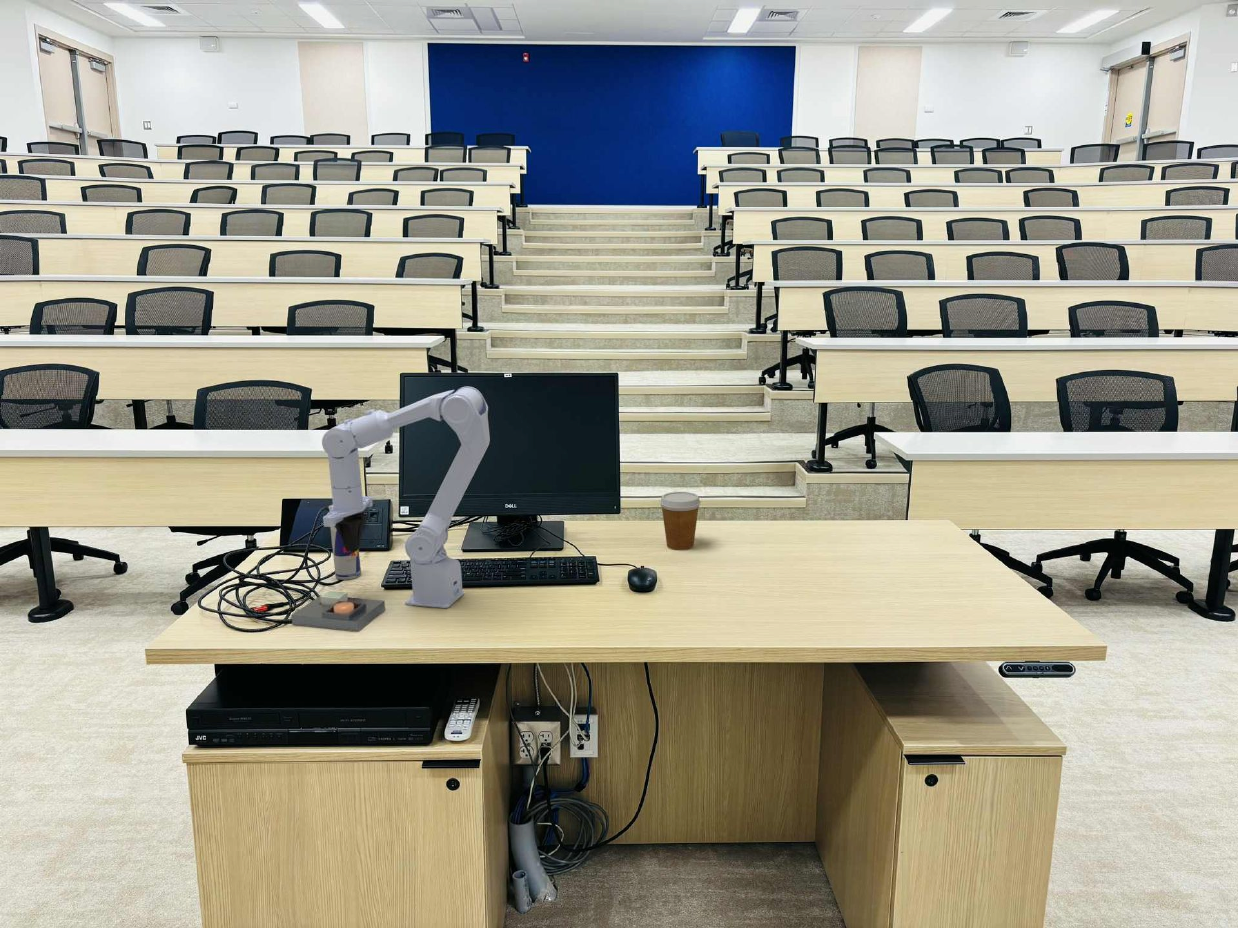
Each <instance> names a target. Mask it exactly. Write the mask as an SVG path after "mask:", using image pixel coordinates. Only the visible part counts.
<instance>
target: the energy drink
mask: <svg viewBox="0 0 1238 928" xmlns="http://www.w3.org/2000/svg"><path fill="white" fill-rule="evenodd" d="M330 536H331V546H332V554H333V555H332V556H333V564H334V574H335V575H334V576H335V578H337V580H341V581H348V580H349V581H350V580H354V579H356V578H359V577H360V576H361V574H362V569H361V568H362V567H361V559H360V558H361V557H360V549H359V550H357V551H356V552H350V551H346V548H345V546H344V543H343V541H342V538H341V536H340V534H339V532H338V531H337V529H336V528H335V527H330Z"/></svg>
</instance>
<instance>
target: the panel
mask: <svg viewBox="0 0 1238 928" xmlns="http://www.w3.org/2000/svg"><path fill="white" fill-rule="evenodd" d="M322 595H323V594H321V595H320V596H318V597H316V598H315V599H314V600H312V601H310V602H309V603H307V604H305V605H304V606H302V607H301V608H300V609H297V610H296V611H295V612H294V613H291V615H290V616H291V624H292V623H294V625H293V626H301V627H302V626H304V627H311V628H321V629H322V628H323V629H330V630H339V631H348V630H350V632H359V631H361V630H362V629H363V628H365V627H366V626H367V625H368V624H369V623H371V622H372V621H374V620H375V619H376V618H377V617H378V616H380V615H381V614H383V613H384V612H385V611H386V603H385V600H380V599H370V598H360V597H350V596H349V597H348V601H347V602H351V603H353V604H354V610H353V611H352V612H351V613H349V614H340V613H334V606H335V605H336V604H338V603H342V602H346V601H338V602H337V603H335V604H334V605H332V606H331V605H321V596H322ZM351 630H352V631H351Z"/></svg>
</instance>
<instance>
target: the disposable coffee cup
mask: <svg viewBox="0 0 1238 928" xmlns="http://www.w3.org/2000/svg"><path fill="white" fill-rule="evenodd" d="M701 503H702V502H701V500H700V497H699V495H698V494H696V493H694V492H689V491H672V492H667V493H664V494H663V495H661V499H660V501H659V505H660V507H661V513H662V519H663V527H664V534H665V541H666V546H667V548H669V549H671V550H675V551H685V550H689V549H690V550H691V549H692V548H694V544H695V538H696V529H697V521H698V514H699V507H700V506H701Z"/></svg>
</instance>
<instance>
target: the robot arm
mask: <svg viewBox="0 0 1238 928" xmlns="http://www.w3.org/2000/svg"><path fill="white" fill-rule="evenodd" d="M488 413H489V406H488V404H487V401H486V399H485V398H484V396H483V394H482V393H481V392H480V391H479V390H478V389H477V388H475V387H473V386H463V387H460V388H458V389H457V390H456V391H455V389H452V390H447V391H444V392H440V393H436V394H433V395H431V396H428V397H426V398H423V399H420V400H419V401H416V402H414V403H411V404H409V405H407V406H404V407H402V408H399V409H397V410H394V411H392V412H386V411H384V410H380V409H378V410H374V408H372V409H369V410H367V411H366V412H365V415H363V416H360V417H358V418H354V419H351V418H348V419H346V420H344V421H343V423H340V424H338V425H336V426H334V427H332V428H330V429H328V430H327V431H326V432H325V433H324V434H323V436H322V439H321V446H322V449H323V451H324V452H325V453H326V454H327V457H328V469H329V480H330V488H331V489H330V490H331V498H332V504H331V505H329V506H328V510H329V512H327V514H326V515H324V516H323V517H322V519H323V527H325V528H326V527H328V528H331V527H335V528H336V529H337V531H338V532H339V534H340V536H341V538H342V541H343V543H344V546H345V548H346V551H350V552H356V551H357V550H359V551H360V543H361V538H362V533H363V529H364V527H365V524H366V522H367V520H368V514H367V513H366V512H364V511H365V509H366V508H371V507H373V506H374V505H373V504H374V503H373V496H363V488H362V476H361V465H360V456H359V449H364V448H366V447H370V446H372V445H375V444H376V443H379V442H380V443H381V442H383V441H385V440H388V439H390V438H392V437H393V435H394V431H395V429H398V428H401V427H403V426H407V425H409V424H413V423H415V422H418V421H422V420H425V419H427V418H431V419H433V420H436V421H438V422H442V420H444V421H445V422H446V423H447V425H449V427H450V428H451V429H452V430H453V431H454V432H455V434H456V435H457V438H458V440H459V442H460V444H461V445H460V447H459V449H458V451H457V453H456V454H455V457H454V459H453V461H452V463H451V465H450V466H449V469H448V471H447V473H446V475H445V476H444V479H443V481H442V483H441V484H440V487H439V489H438V490H437V493H436V495H435V497H434V499H433V501H432V503H431V505H430V506H429V509H428V511H427V513H426V514H425V516H424V517H423V520H422V521H421V522H420V524H419V526H418V528H417V529H416V530H415V531H414V532H413V533H412V534H411V535H409V536H408V538H407V539H406V541H405V544H404V550H405V552H406V555H407V556H408V558H409V562H410V575H411V586H412V587H411V588H412V596H411V597H409V598H408V599H406V601H404V605H409V606H410V605H411V606H418V607H419V606H420V607H429V608H430V607H431V608H441V609H448V608H450V607H451V606H452V605H453V604H454V603H456V602H457V600H459V599H460V598H461V597H462V596H463V595H464V594H465V591H464V590H463V580H462V579H463V578H462V566H461V563H460V561H459V560H458V559H455V558H452V557H449V556H448V554H447V551H446V549H445V544H446V543H447V541H448V539H449V527H450V525H451V523H452V518H453V516H454V514H455V512H456V510H457V509H458V507H459V504H460V503H461V501H462V498H463V497H464V495H465V492H466V490H467V489H468V486H469V485H470V483H471V481H472V479H473V477H474V475H475V473H476V471H477V469H478V467H479V465H480V463H481V461H482V459H483V457H484V455H485V453H486V451H487V449H488V447H489V445H490V442H491V441H490V440H491V438H490V436H491V435H490V427H489V426H490V425H489V419H488V418H489V417H488ZM361 512H363V513H361Z"/></svg>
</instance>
